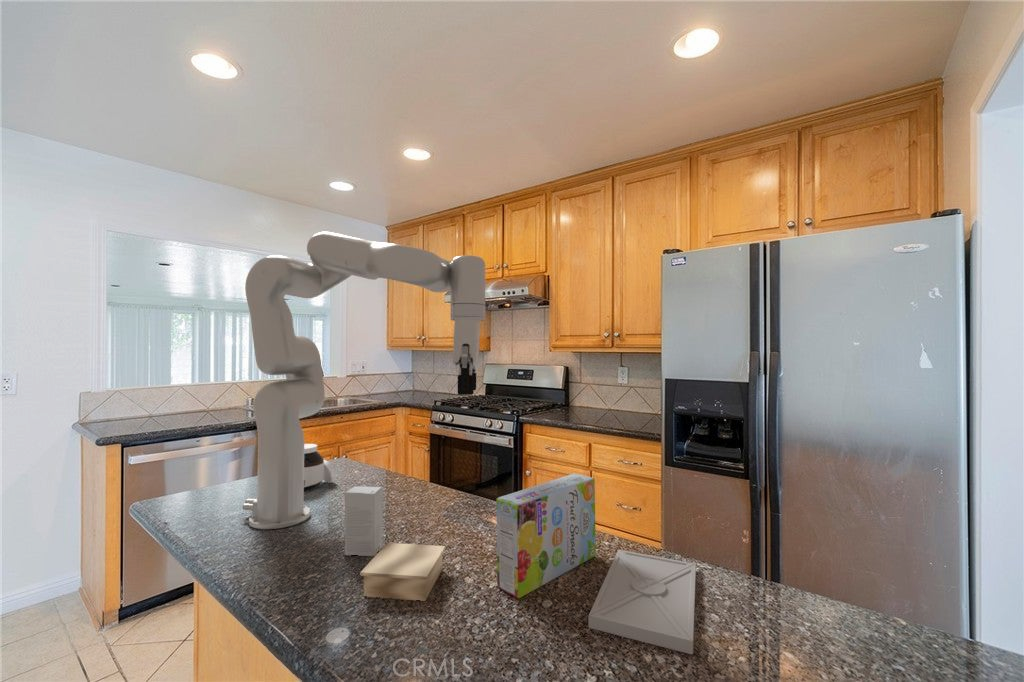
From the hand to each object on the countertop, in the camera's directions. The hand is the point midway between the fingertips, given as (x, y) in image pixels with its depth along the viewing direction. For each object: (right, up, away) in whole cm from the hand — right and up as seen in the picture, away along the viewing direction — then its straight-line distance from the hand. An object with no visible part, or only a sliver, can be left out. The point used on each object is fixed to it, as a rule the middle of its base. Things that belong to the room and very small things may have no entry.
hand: (467, 392), depth 97 cm
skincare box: (-19, -30, -10) cm, 37 cm away
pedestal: (-8, -30, -22) cm, 38 cm away
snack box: (+16, -30, -17) cm, 38 cm away
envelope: (+32, -31, -25) cm, 51 cm away
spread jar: (-48, -30, +30) cm, 64 cm away
